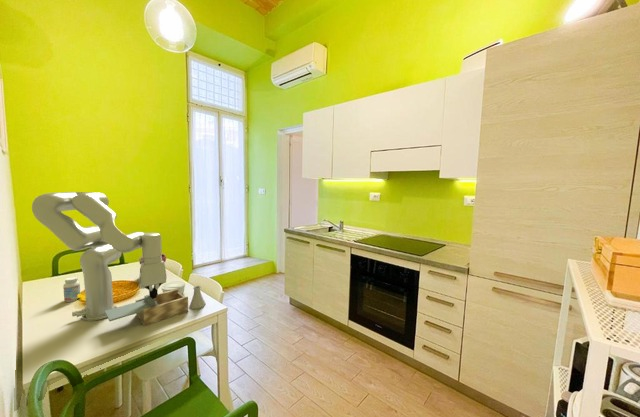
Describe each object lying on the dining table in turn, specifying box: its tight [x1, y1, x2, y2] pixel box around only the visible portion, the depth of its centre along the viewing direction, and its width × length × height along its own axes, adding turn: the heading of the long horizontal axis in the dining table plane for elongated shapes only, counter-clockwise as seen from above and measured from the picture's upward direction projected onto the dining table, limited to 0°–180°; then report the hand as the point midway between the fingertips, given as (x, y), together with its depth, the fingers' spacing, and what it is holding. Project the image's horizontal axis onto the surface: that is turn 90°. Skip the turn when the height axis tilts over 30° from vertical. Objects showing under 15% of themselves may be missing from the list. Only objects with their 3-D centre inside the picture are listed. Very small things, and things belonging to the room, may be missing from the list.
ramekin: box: [161, 281, 186, 295], centre depth 141 cm, size 11×11×5 cm
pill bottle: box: [62, 276, 81, 303], centre depth 132 cm, size 6×6×11 cm
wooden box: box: [135, 289, 189, 327], centre depth 121 cm, size 18×13×7 cm
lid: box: [105, 294, 159, 322], centre depth 112 cm, size 18×10×3 cm, turn 139°
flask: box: [188, 285, 207, 310], centre depth 129 cm, size 7×7×10 cm
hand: (153, 297), depth 121 cm, fingers closed
